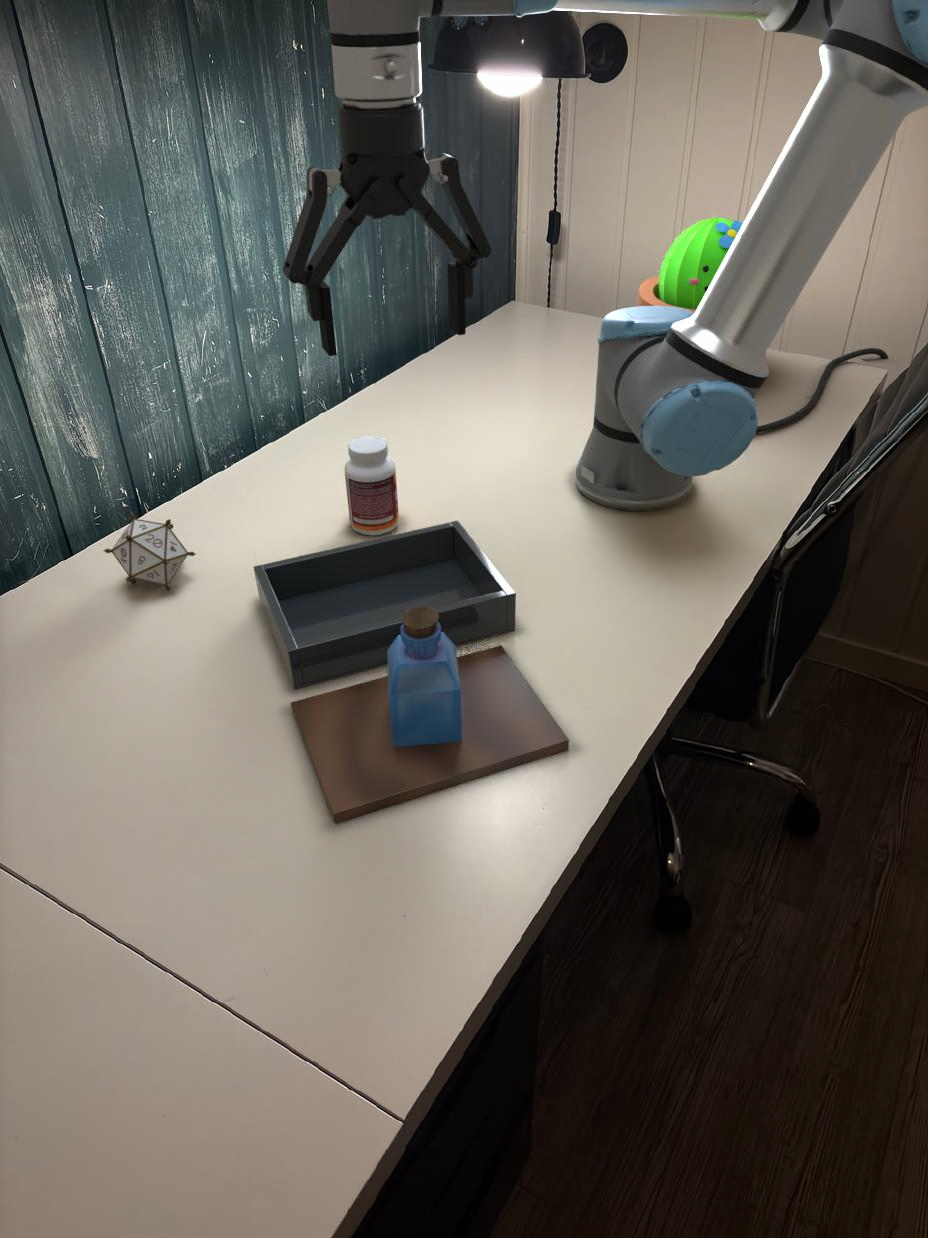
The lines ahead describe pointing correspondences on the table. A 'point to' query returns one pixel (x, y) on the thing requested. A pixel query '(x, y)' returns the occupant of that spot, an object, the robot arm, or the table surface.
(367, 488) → the pill bottle
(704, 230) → the potted cactus
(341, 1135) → the table surface
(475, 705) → the board
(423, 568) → the tray
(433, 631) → the perfume bottle
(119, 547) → the game die
